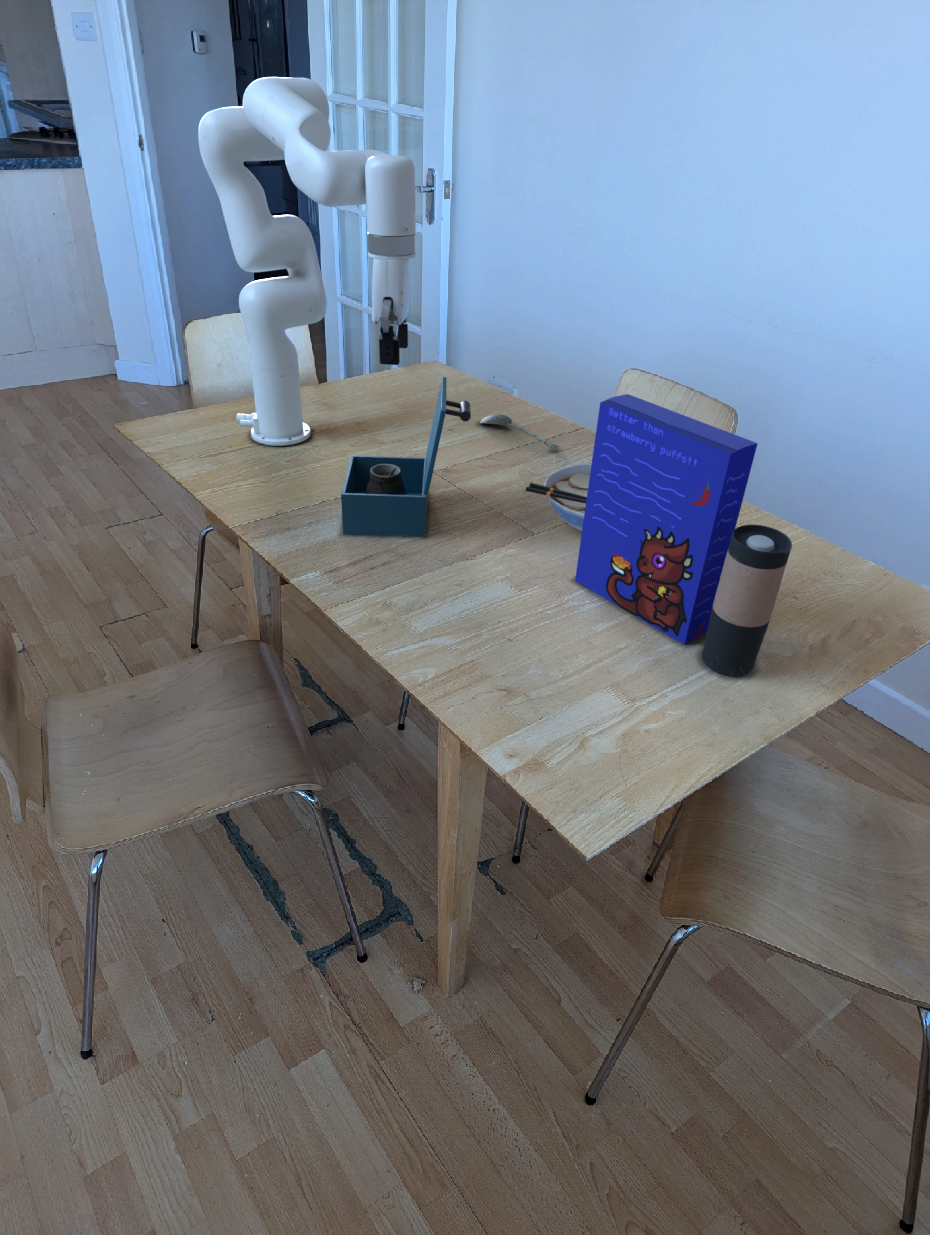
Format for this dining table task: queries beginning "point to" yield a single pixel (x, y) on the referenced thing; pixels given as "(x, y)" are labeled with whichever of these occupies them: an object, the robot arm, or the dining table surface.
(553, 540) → the dining table surface
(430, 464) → the lid
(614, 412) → the cereal box
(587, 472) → the ramen bowl
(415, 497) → the blue open rectangular box
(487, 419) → the soupspoon
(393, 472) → the mate gourd
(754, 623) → the travel mug
